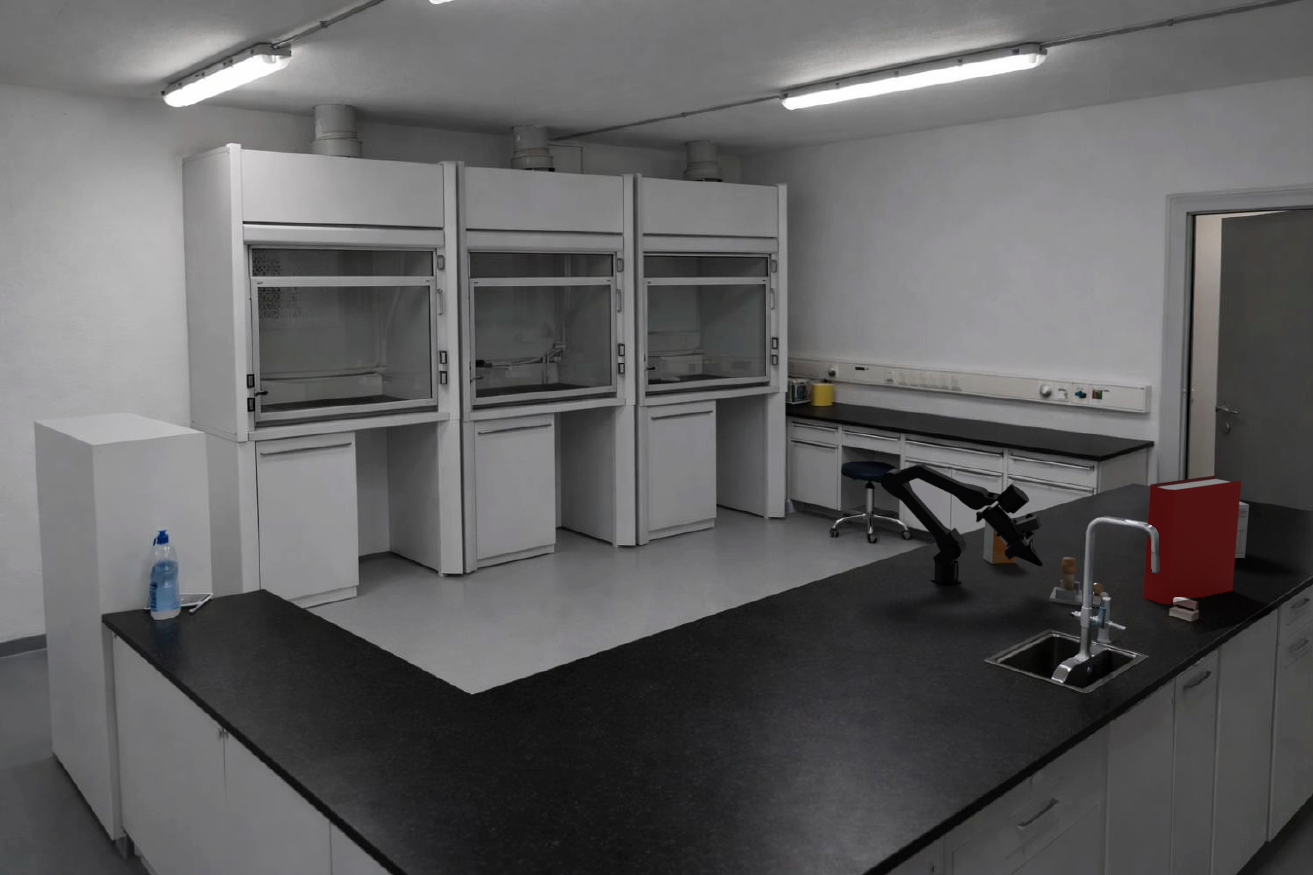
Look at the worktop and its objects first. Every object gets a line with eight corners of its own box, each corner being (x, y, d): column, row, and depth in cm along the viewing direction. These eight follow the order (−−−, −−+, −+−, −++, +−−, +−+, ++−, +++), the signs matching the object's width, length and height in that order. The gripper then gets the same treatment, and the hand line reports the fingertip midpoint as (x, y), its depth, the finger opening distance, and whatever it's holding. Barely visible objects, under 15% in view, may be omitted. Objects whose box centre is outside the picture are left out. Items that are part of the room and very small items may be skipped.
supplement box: (1246, 559, 316) (1250, 504, 313) (1203, 559, 317) (1207, 505, 314) (1223, 547, 329) (1227, 495, 327) (1182, 548, 330) (1186, 495, 327)
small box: (992, 564, 314) (993, 523, 312) (982, 558, 321) (984, 519, 319) (1016, 563, 316) (1018, 522, 313) (1006, 557, 322) (1008, 517, 320)
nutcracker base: (1049, 601, 278) (1050, 582, 278) (1054, 590, 288) (1055, 572, 287) (1104, 608, 272) (1105, 589, 271) (1107, 597, 281) (1109, 578, 280)
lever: (1059, 595, 279) (1061, 560, 278) (1062, 588, 285) (1064, 555, 283) (1072, 596, 277) (1074, 562, 276) (1075, 590, 283) (1077, 556, 281)
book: (1206, 583, 292) (1215, 475, 287) (1232, 590, 285) (1241, 480, 280) (1139, 596, 281) (1146, 484, 276) (1164, 604, 274) (1172, 490, 269)
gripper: (1018, 512, 275) (1059, 556, 272) (1028, 499, 291) (1068, 539, 288) (987, 538, 280) (1028, 580, 277) (999, 523, 296) (1038, 563, 293)
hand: (1041, 565), depth 283 cm, fingers closed
